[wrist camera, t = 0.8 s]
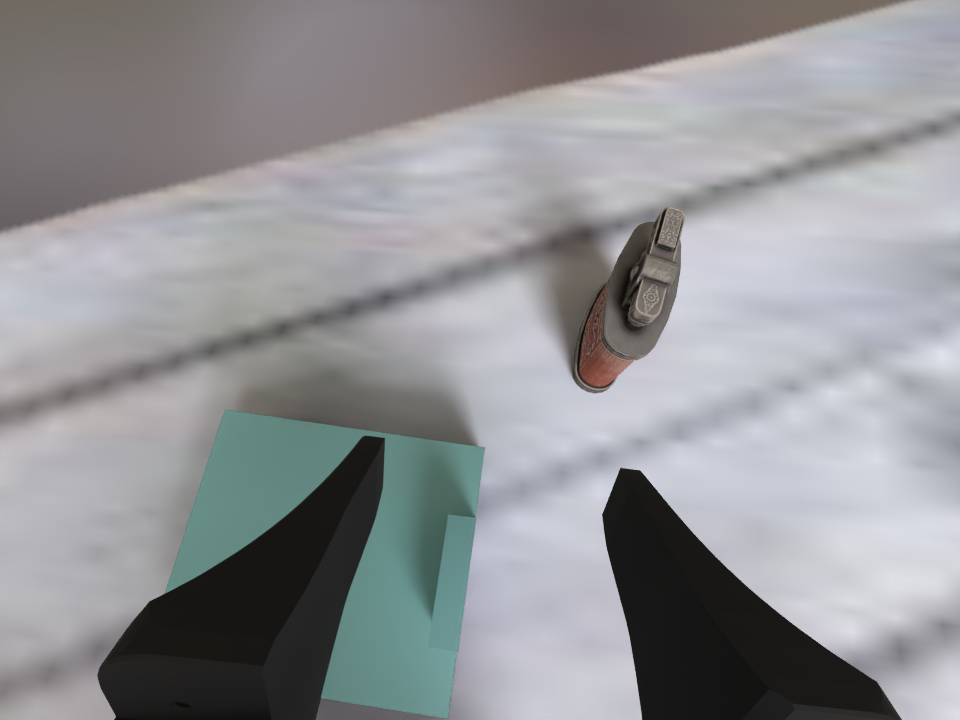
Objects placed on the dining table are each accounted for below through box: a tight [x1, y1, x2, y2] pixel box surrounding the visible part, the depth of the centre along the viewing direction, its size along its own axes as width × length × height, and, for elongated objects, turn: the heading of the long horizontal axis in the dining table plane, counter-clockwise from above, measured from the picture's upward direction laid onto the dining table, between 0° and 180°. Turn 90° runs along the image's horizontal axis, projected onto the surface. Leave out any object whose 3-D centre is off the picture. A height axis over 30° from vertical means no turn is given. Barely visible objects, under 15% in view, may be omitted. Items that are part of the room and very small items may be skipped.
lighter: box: [573, 208, 685, 393], centre depth 26 cm, size 8×3×10 cm, turn 160°
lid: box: [165, 410, 485, 719], centre depth 21 cm, size 12×14×5 cm
